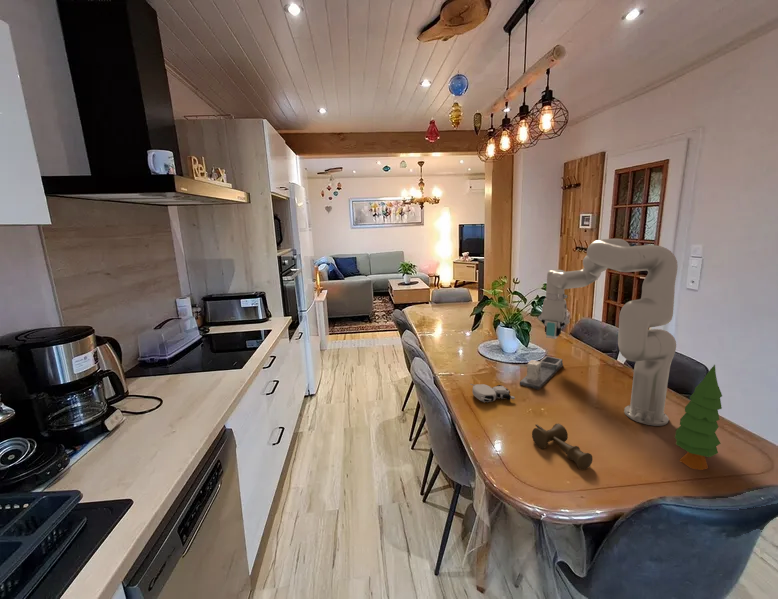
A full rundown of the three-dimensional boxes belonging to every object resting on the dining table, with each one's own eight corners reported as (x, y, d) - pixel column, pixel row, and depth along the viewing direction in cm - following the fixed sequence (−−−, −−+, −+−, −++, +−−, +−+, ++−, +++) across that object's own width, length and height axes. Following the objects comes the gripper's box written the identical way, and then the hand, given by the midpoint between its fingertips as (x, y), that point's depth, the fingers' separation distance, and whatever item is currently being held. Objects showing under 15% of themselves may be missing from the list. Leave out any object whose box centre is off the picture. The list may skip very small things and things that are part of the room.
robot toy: (502, 391, 147) (468, 392, 145) (503, 381, 146) (468, 382, 145) (516, 405, 135) (479, 407, 134) (517, 395, 135) (480, 396, 133)
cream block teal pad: (558, 336, 165) (559, 320, 164) (554, 339, 161) (555, 322, 159) (549, 334, 168) (550, 318, 166) (545, 337, 164) (546, 321, 162)
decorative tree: (722, 476, 93) (740, 371, 87) (680, 471, 96) (695, 368, 90) (701, 454, 102) (716, 357, 96) (663, 449, 105) (676, 355, 99)
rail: (538, 389, 145) (539, 368, 143) (519, 384, 151) (520, 364, 149) (562, 365, 168) (564, 347, 166) (545, 362, 174) (546, 343, 172)
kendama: (572, 476, 96) (522, 435, 115) (598, 468, 100) (546, 429, 118) (575, 457, 95) (524, 419, 114) (601, 449, 98) (547, 413, 117)
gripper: (577, 297, 158) (574, 335, 162) (539, 293, 169) (537, 329, 173) (572, 300, 153) (569, 340, 156) (533, 296, 164) (531, 333, 167)
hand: (552, 334), depth 165 cm, fingers closed on cream block teal pad, 4 cm apart
